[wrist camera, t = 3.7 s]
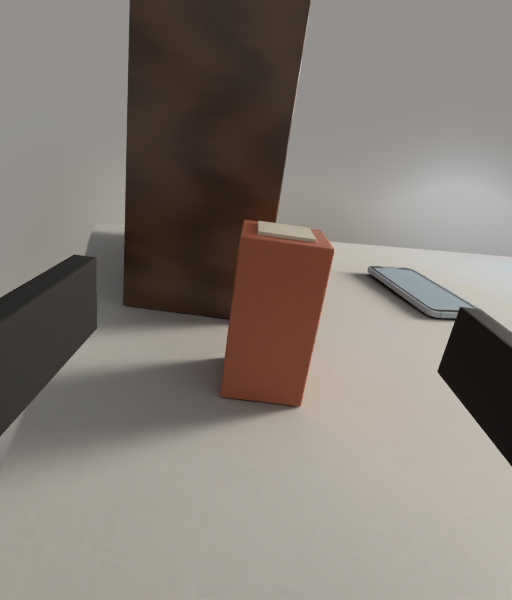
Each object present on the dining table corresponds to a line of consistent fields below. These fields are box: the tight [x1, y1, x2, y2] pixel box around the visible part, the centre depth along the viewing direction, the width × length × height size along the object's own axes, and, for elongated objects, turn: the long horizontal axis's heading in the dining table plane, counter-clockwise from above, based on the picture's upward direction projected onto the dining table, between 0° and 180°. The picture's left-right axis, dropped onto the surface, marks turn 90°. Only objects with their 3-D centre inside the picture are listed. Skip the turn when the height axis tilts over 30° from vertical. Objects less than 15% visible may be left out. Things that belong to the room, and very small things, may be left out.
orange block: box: [220, 220, 334, 406], centre depth 25 cm, size 5×5×10 cm
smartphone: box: [368, 266, 484, 318], centre depth 50 cm, size 7×1×15 cm
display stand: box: [123, 0, 311, 319], centre depth 42 cm, size 12×26×28 cm, turn 0°
